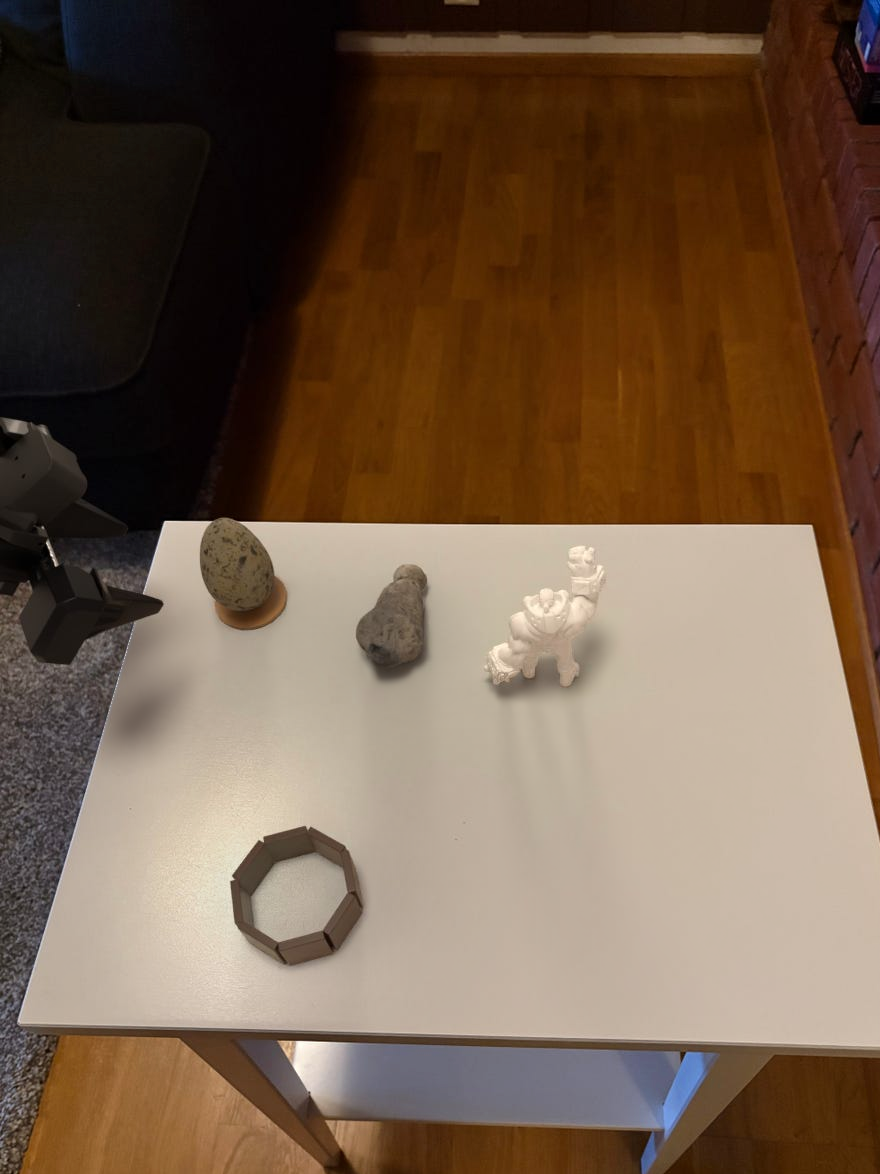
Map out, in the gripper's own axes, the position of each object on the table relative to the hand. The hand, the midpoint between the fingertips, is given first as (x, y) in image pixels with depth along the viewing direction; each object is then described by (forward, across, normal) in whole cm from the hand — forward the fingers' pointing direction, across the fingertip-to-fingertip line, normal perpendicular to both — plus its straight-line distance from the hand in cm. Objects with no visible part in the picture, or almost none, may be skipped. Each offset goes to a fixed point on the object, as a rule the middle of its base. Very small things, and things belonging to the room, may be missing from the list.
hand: (142, 567), depth 72 cm
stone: (+18, -10, -5) cm, 22 cm away
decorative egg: (+11, 0, +2) cm, 11 cm away
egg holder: (+6, -28, +7) cm, 29 cm away
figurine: (+25, -19, -12) cm, 33 cm away
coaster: (+12, 0, +2) cm, 12 cm away
